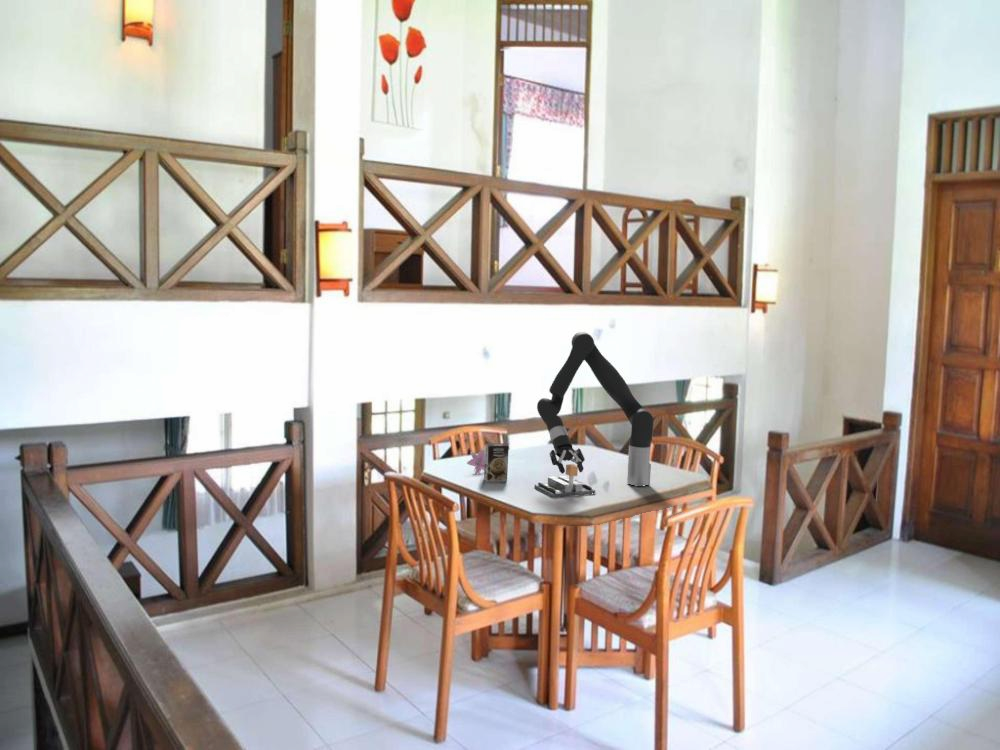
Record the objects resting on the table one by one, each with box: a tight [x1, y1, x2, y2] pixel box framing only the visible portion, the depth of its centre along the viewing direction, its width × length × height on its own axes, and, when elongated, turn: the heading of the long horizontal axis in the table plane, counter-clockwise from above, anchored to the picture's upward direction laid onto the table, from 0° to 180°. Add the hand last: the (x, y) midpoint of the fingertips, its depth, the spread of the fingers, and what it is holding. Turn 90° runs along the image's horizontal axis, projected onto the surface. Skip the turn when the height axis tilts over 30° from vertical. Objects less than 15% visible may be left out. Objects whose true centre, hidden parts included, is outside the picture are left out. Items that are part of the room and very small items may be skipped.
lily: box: [466, 448, 485, 474], centre depth 373 cm, size 12×12×10 cm
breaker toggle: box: [565, 463, 579, 490], centre depth 339 cm, size 3×4×10 cm
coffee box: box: [483, 442, 509, 484], centre depth 357 cm, size 9×6×16 cm
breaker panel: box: [533, 475, 596, 498], centre depth 344 cm, size 20×16×4 cm
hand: (572, 471), depth 338 cm, fingers open, 8 cm apart
